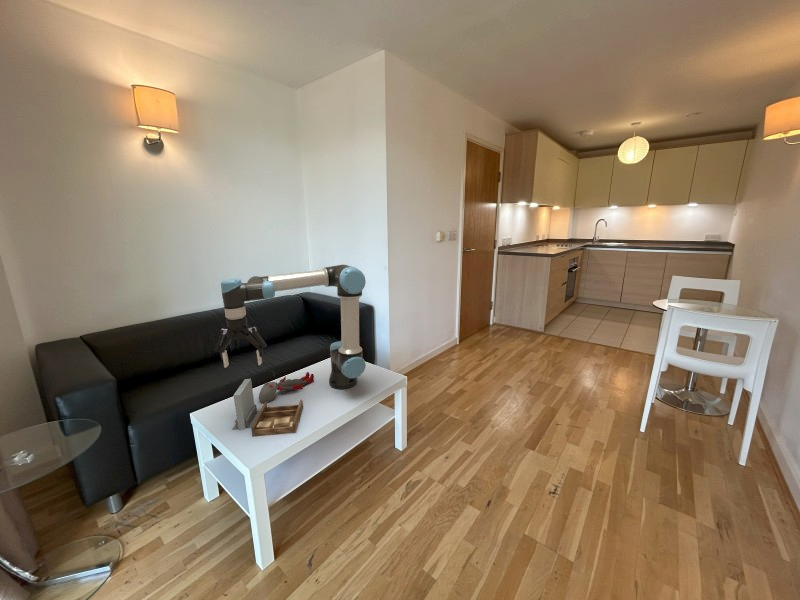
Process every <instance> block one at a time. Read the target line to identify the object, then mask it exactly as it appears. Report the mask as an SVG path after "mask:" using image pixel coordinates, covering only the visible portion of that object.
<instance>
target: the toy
mask: <svg viewBox="0 0 800 600" xmlns="http://www.w3.org/2000/svg"><path fill="white" fill-rule="evenodd" d="M314 378H315V375H314V373H311V374H310V372H308V371H307V372H306V373H305V375H304V376H302V377H300V378H294V379H292V378H291V379H290V378H289V379H287V376H284V377H283V378H281V379H279V382H277V381H269V382H265V383H264V384H262V385H263V386H262V387H261V389H260V391H259V393H258V400H259V402H260V403H263V404H264V402H267V403H268V402H272V401H273V400H274V399H275V396H276V394H277V391H280V392H283V391H297V390H304V388H305V385H308V384H311V383H314Z"/></svg>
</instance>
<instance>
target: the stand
mask: <svg viewBox="0 0 800 600" xmlns="http://www.w3.org/2000/svg"><path fill="white" fill-rule="evenodd" d="M257 408H258V407H257V404H254V406H253V408H252V410H251V411H250V413H249V415H248V417H247V418H246V420H245V421H246V428H245V429H251V427H252V425H253V423H254V422H255V420H256V418H257V416H258V414H259V412H260V410H258V409H257ZM234 423H235V424H234V425H233V427H232V429H231V430H232V431H233V430H239V429H238V422H237V418H236V419H235V422H234ZM245 429H244V430H245Z"/></svg>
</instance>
